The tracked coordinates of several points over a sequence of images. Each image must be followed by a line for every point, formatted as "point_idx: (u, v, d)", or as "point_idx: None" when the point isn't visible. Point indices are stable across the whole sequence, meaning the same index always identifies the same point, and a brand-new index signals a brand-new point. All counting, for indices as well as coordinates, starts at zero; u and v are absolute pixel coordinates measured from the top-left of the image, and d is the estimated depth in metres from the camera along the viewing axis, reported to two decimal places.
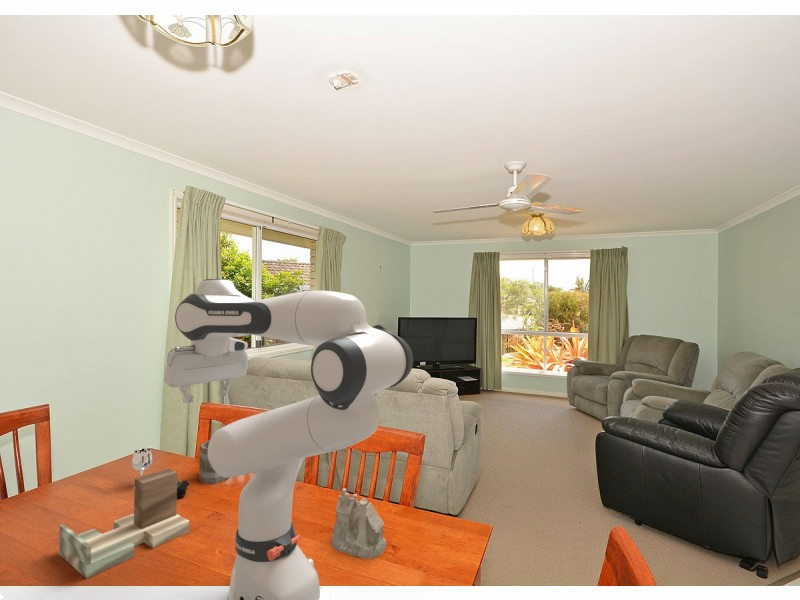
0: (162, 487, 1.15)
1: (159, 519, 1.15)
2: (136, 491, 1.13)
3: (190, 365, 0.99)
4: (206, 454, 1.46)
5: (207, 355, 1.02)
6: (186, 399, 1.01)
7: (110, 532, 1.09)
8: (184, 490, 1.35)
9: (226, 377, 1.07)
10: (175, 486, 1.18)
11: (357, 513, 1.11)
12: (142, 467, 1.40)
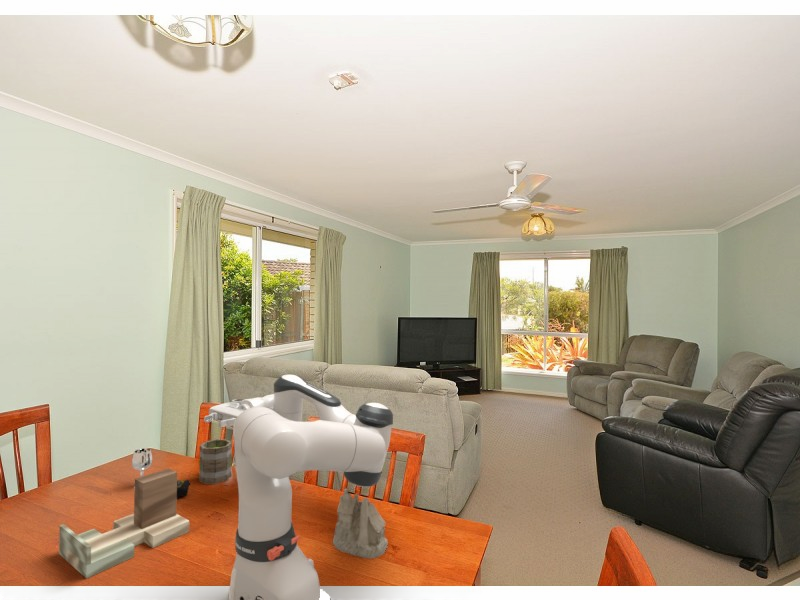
0: (162, 487, 1.15)
1: (159, 519, 1.15)
2: (136, 491, 1.13)
3: None
4: (206, 454, 1.46)
5: None
6: (224, 425, 1.28)
7: (110, 532, 1.09)
8: (186, 490, 1.35)
9: None
10: (175, 486, 1.18)
11: (359, 513, 1.11)
12: (142, 467, 1.40)
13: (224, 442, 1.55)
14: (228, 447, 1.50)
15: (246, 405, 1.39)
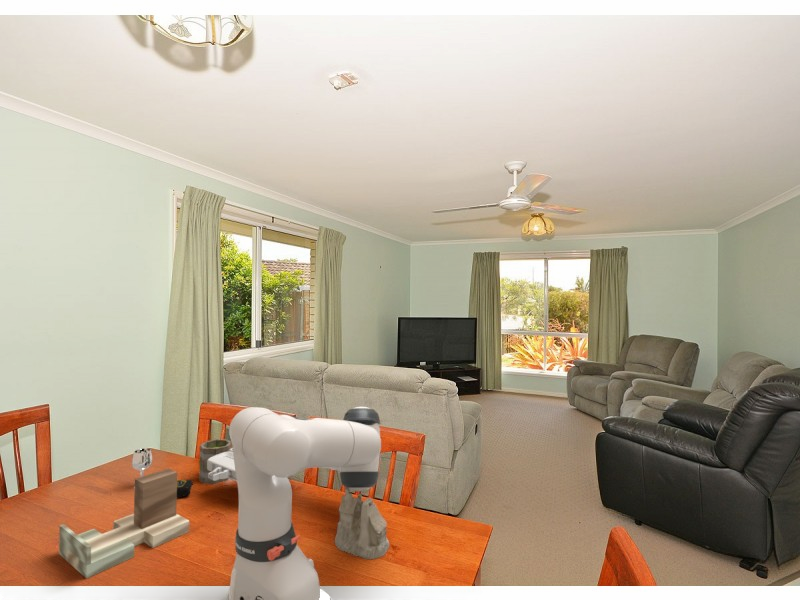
0: (162, 487, 1.15)
1: (159, 519, 1.15)
2: (136, 491, 1.13)
3: None
4: (206, 454, 1.46)
5: None
6: (216, 478, 1.30)
7: (110, 532, 1.09)
8: (188, 489, 1.36)
9: None
10: (175, 486, 1.18)
11: (360, 513, 1.11)
12: (142, 467, 1.40)
13: (224, 442, 1.55)
14: (228, 447, 1.50)
15: None
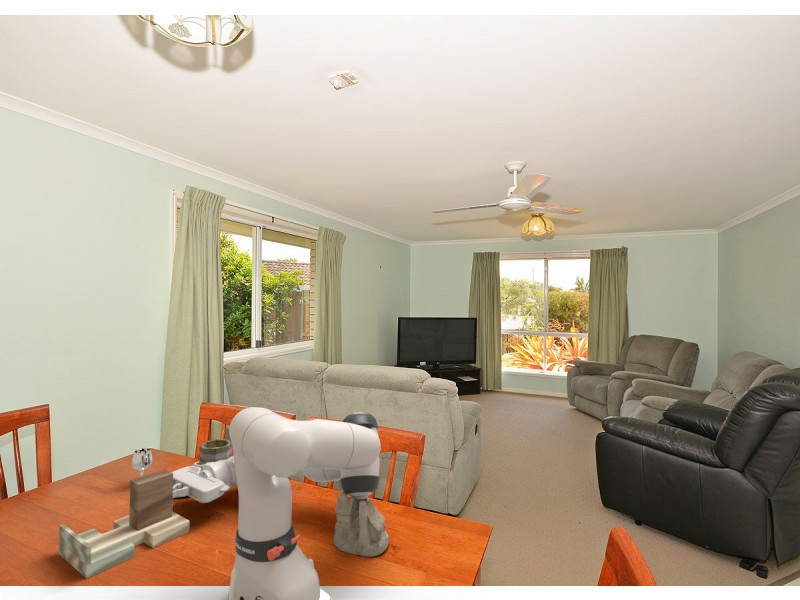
0: (158, 488, 1.15)
1: (155, 521, 1.14)
2: (131, 492, 1.12)
3: None
4: (206, 454, 1.46)
5: None
6: (174, 496, 1.19)
7: (110, 532, 1.09)
8: None
9: None
10: (171, 487, 1.18)
11: (357, 512, 1.10)
12: (142, 467, 1.40)
13: (224, 442, 1.55)
14: (228, 447, 1.50)
15: (207, 471, 1.28)
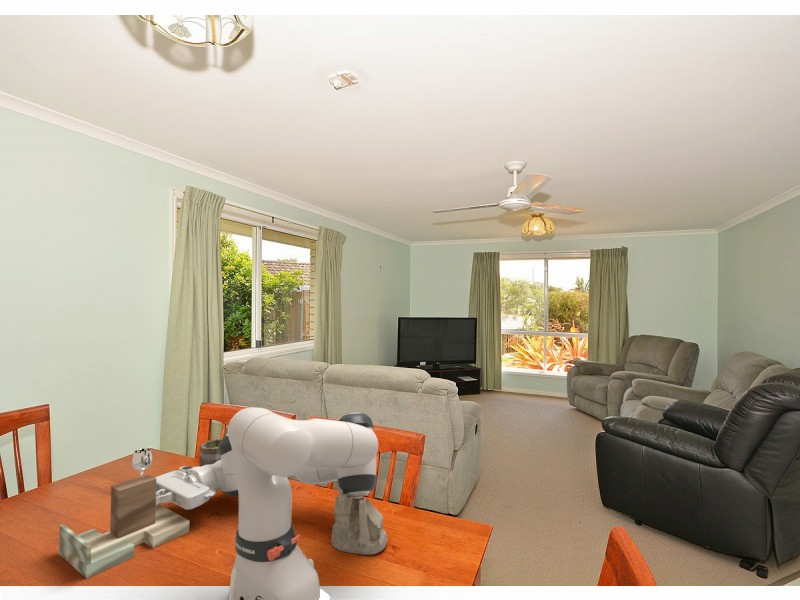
0: (140, 494, 1.11)
1: (137, 528, 1.10)
2: (112, 499, 1.09)
3: None
4: (206, 454, 1.46)
5: None
6: (157, 502, 1.16)
7: None
8: None
9: None
10: (154, 493, 1.14)
11: (356, 511, 1.11)
12: (142, 467, 1.40)
13: None
14: None
15: (193, 476, 1.25)
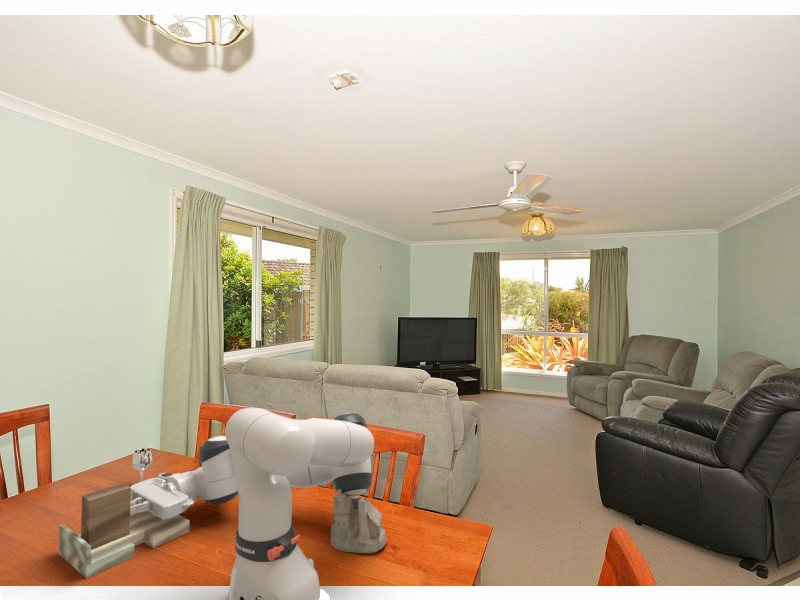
0: (113, 504, 1.05)
1: (109, 539, 1.05)
2: (83, 509, 1.03)
3: None
4: None
5: None
6: (132, 512, 1.10)
7: None
8: None
9: None
10: (128, 503, 1.08)
11: (355, 511, 1.11)
12: (142, 467, 1.40)
13: None
14: None
15: (172, 484, 1.19)
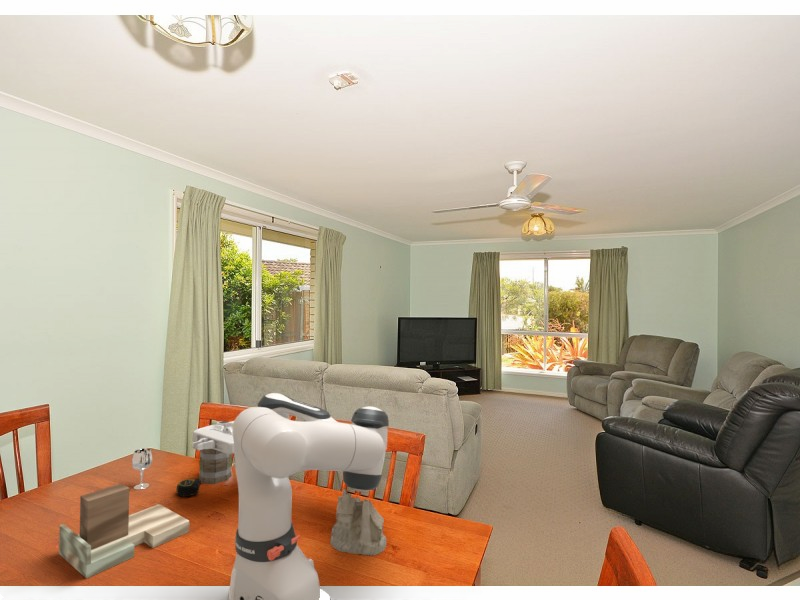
0: (111, 504, 1.05)
1: (108, 540, 1.05)
2: (81, 509, 1.03)
3: None
4: (206, 454, 1.46)
5: None
6: (201, 448, 1.26)
7: None
8: (197, 488, 1.36)
9: None
10: (127, 503, 1.08)
11: (358, 512, 1.12)
12: (142, 467, 1.40)
13: None
14: None
15: (231, 428, 1.35)
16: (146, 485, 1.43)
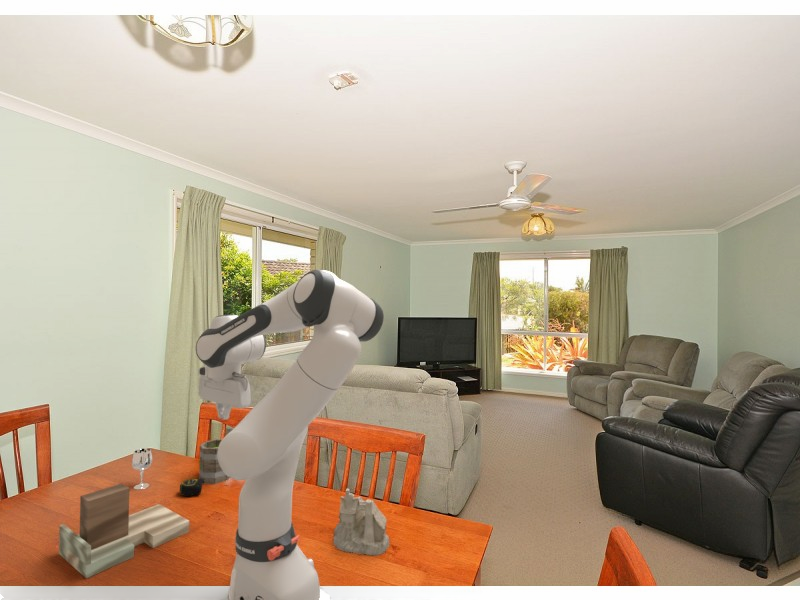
0: (111, 504, 1.05)
1: (108, 540, 1.05)
2: (81, 509, 1.03)
3: None
4: (206, 454, 1.46)
5: None
6: (228, 415, 1.23)
7: None
8: (200, 488, 1.37)
9: None
10: (127, 503, 1.08)
11: (361, 512, 1.12)
12: (142, 467, 1.40)
13: None
14: None
15: (217, 381, 1.20)
16: (146, 485, 1.43)
